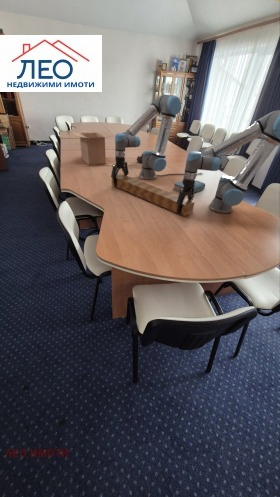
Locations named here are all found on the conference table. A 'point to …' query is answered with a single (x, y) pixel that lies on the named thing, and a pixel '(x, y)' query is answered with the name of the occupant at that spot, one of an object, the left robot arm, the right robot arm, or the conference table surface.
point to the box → (92, 146)
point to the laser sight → (139, 158)
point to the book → (197, 187)
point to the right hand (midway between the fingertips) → (183, 210)
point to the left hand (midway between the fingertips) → (119, 184)
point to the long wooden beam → (153, 194)
